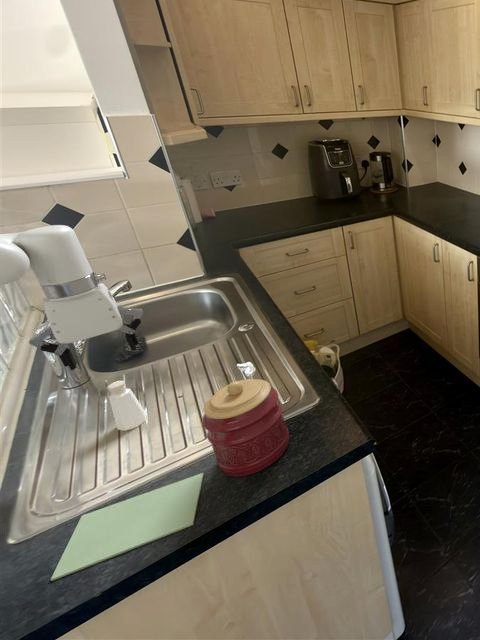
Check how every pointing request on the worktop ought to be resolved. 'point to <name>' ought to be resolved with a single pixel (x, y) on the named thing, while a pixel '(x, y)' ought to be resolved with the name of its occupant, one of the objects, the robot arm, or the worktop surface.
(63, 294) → the robot arm
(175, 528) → the mat
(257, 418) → the kitchen canister
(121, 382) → the pepper shaker
